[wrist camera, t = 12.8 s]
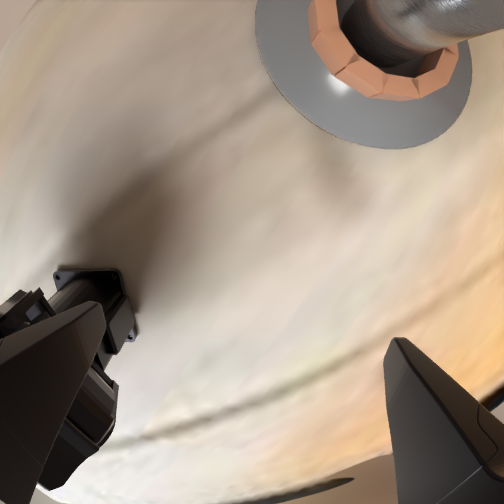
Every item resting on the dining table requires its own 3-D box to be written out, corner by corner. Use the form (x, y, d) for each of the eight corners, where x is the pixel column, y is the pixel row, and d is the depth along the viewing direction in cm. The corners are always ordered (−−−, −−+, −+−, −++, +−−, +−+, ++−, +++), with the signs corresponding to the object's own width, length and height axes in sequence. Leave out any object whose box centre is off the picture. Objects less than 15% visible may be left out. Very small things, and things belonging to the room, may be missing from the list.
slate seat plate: (261, 147, 19) (262, 149, 16) (249, -55, 13) (248, -81, 10) (468, 156, 19) (496, 162, 15) (446, -22, 13) (468, -36, 10)
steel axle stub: (367, 78, 16) (474, 34, 6) (326, 13, 15) (392, -80, 4) (422, 56, 15) (536, 22, 5) (386, -4, 14) (472, -76, 3)
